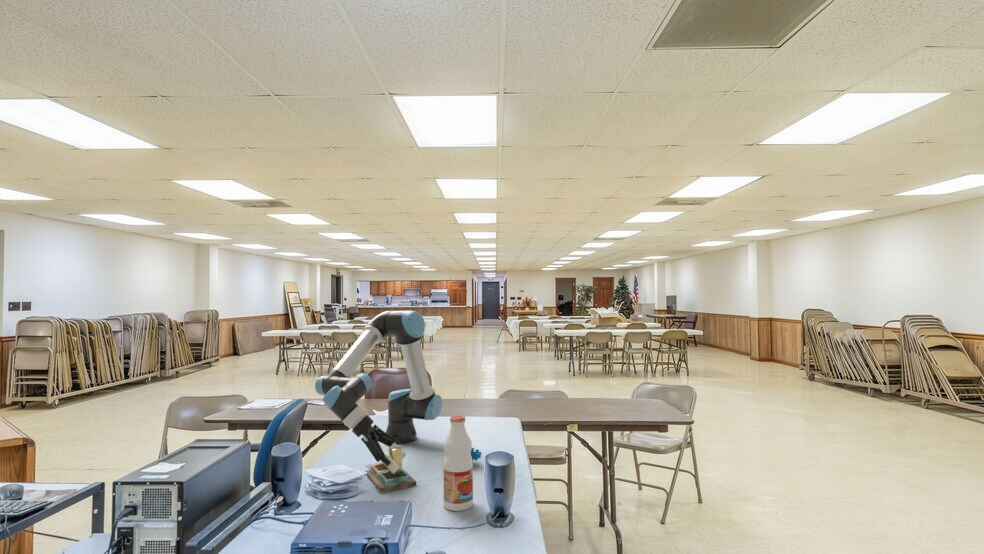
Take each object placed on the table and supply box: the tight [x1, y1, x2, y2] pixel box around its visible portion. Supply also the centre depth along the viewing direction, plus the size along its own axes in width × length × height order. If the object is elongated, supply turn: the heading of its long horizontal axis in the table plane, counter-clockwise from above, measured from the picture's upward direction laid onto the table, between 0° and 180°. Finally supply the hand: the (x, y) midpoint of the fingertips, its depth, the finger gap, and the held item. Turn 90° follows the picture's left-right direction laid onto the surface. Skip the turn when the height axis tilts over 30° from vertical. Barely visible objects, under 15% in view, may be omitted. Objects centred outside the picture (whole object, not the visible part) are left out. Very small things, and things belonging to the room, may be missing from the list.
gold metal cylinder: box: [388, 446, 403, 480], centre depth 171 cm, size 5×5×11 cm
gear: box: [471, 447, 482, 462], centre depth 190 cm, size 11×6×10 cm
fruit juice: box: [442, 415, 474, 512], centre depth 153 cm, size 9×9×28 cm
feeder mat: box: [364, 461, 382, 470], centre depth 189 cm, size 10×9×1 cm
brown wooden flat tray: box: [364, 462, 417, 494], centre depth 175 cm, size 13×20×4 cm, turn 30°
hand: (400, 463), depth 171 cm, fingers open, 13 cm apart
